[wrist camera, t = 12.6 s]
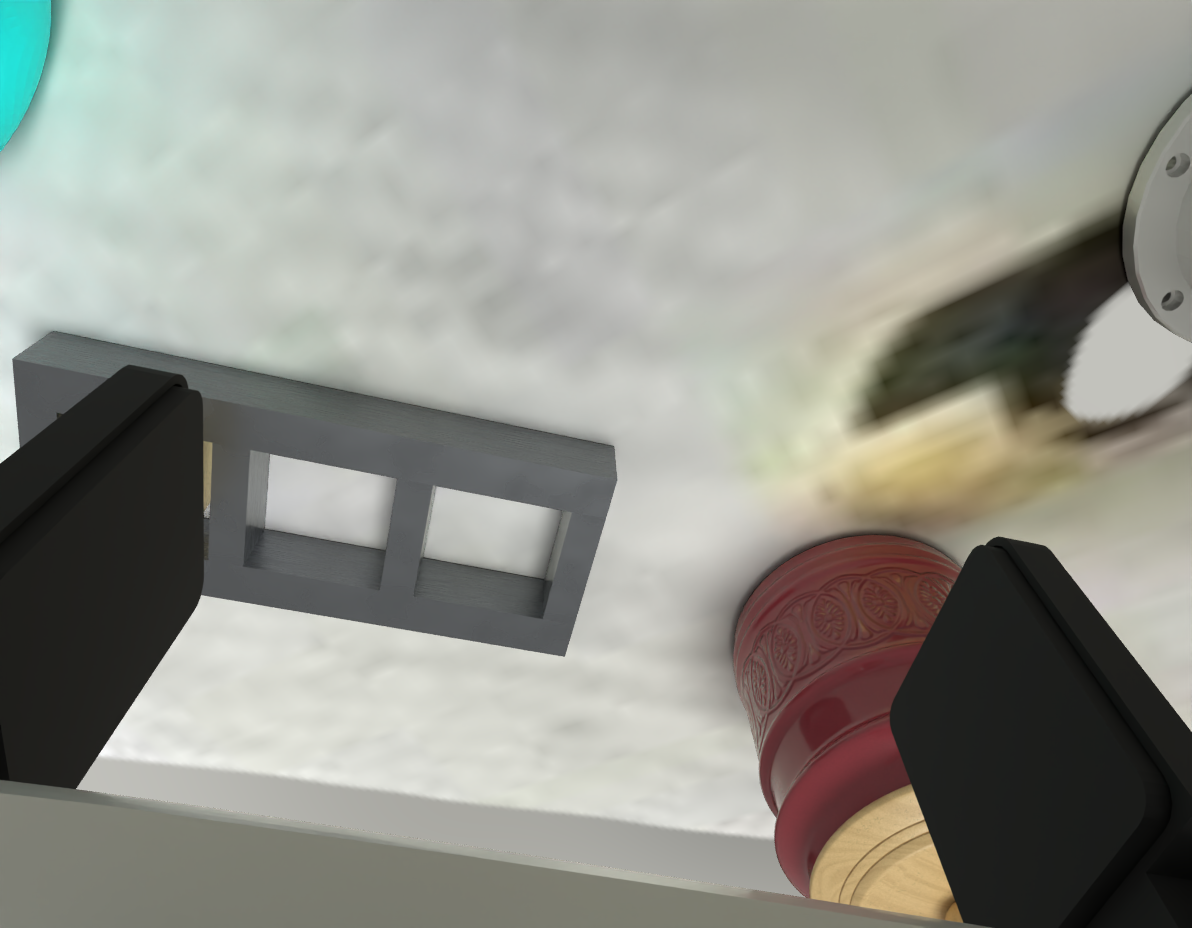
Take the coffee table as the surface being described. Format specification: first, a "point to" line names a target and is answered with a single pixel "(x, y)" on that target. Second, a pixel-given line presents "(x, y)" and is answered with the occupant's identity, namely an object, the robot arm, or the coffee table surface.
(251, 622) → the coffee table surface
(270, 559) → the grey flat slotted block
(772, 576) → the canister
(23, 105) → the donuts
